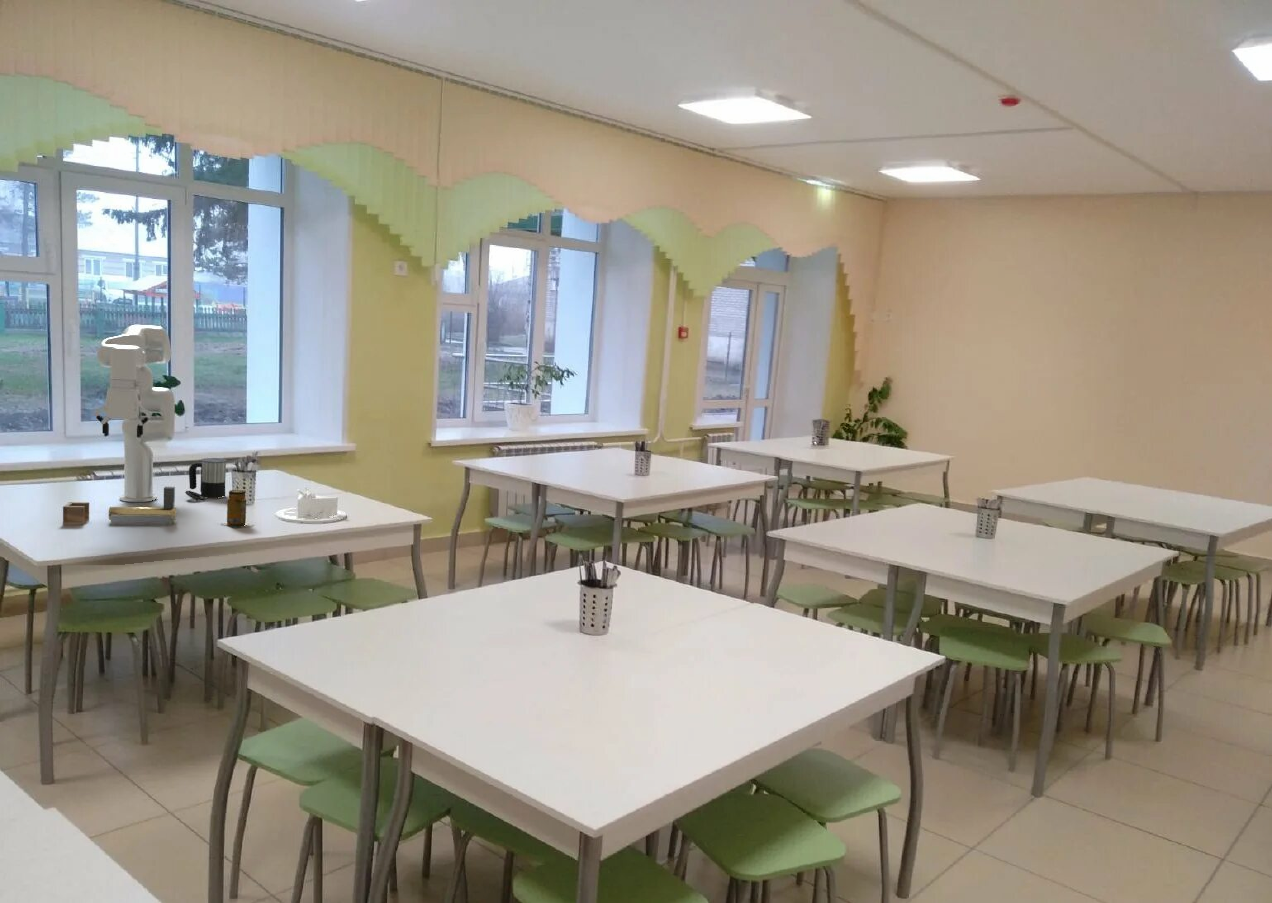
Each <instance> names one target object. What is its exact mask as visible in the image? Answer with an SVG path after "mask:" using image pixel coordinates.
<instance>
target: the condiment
mask: <svg viewBox="0 0 1272 903" xmlns="http://www.w3.org/2000/svg"><path fill="white" fill-rule="evenodd" d="M226 502H227V509H226V523H225V522H224V523H221V525H223V526H226V527H230V528H235V529H240V528H239V527H241V528H247V527H253V526H254V524H250V523H246V522H247V520H246V519H247V499H246V491H245V490H242V489H230V490H229V491H228V498H227V501H226ZM245 523H246V524H248V525H246V526H244V525H245ZM237 527H238V528H237Z"/></svg>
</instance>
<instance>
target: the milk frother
mask: <svg viewBox="0 0 1272 903" xmlns="http://www.w3.org/2000/svg"><path fill="white" fill-rule="evenodd" d="M227 462H228V460H227V458H218V457H211V458H210V457H207V458H201V461H196V462H193V463H192V464H191V465H190V466H189V468H188V477H189V478H188V480H189V481H188V482H189V489H190V490H185V492H184V493H185V494H186V496H188V497H190V498H192V499H193V500H195V501H196V500H198V501H205V500H206V499H219V498H218V497H222V496H225V495H226V476H227V474H226V472H227V471H226V470H227ZM198 468H200V490H199V491H200V493H198V492H195V491H191V490H196V488H197V469H198ZM205 497H207V498H205Z"/></svg>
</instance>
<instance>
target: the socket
mask: <svg viewBox="0 0 1272 903" xmlns="http://www.w3.org/2000/svg"><path fill="white" fill-rule="evenodd" d="M89 521H90V502H89V501H88V502H86V501H84V502H80V501H79V502H78V501H76V502H75V501H73V502H72V501H69V502H67V503H66V504H65V505H63V506H62V525H63V526H68V525H69V526H84V525H85V524H87V522H89Z"/></svg>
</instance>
